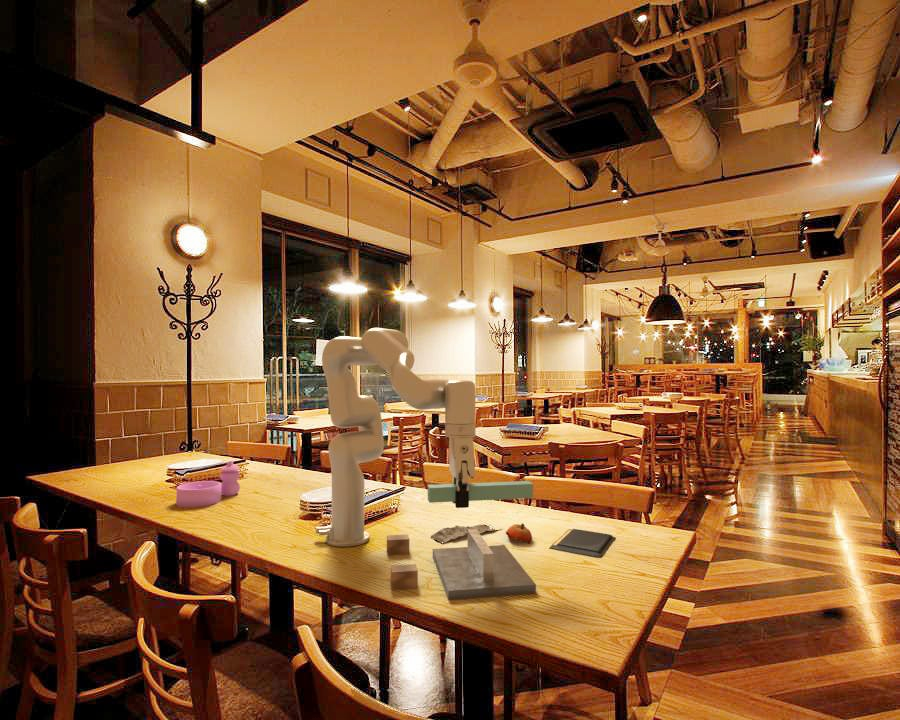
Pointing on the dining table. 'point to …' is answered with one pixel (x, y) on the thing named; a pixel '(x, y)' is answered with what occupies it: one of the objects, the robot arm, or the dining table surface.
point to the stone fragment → (457, 532)
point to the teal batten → (482, 491)
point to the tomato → (519, 533)
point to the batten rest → (401, 573)
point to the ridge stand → (481, 570)
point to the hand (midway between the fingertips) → (460, 504)
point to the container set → (209, 489)
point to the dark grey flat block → (584, 543)
